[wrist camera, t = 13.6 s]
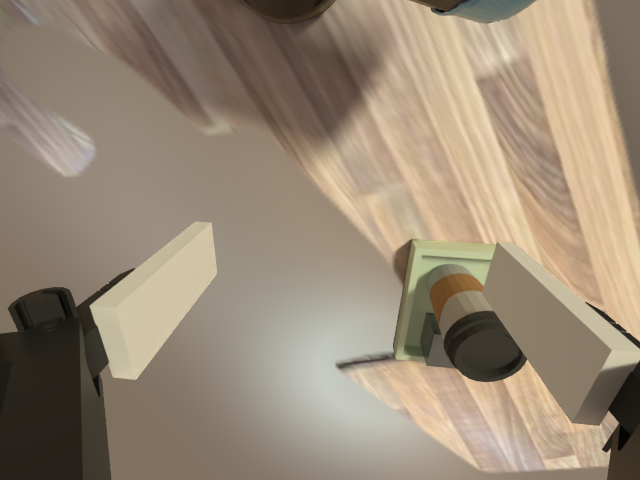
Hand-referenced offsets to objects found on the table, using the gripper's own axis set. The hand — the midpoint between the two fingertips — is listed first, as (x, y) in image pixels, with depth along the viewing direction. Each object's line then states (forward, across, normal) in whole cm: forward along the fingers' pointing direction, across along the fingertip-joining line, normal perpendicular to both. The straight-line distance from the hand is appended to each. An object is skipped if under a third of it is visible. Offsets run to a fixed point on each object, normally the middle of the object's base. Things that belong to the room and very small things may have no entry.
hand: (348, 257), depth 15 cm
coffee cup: (+28, +16, -17) cm, 37 cm away
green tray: (+29, +17, -21) cm, 39 cm away
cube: (+28, +17, -26) cm, 42 cm away
